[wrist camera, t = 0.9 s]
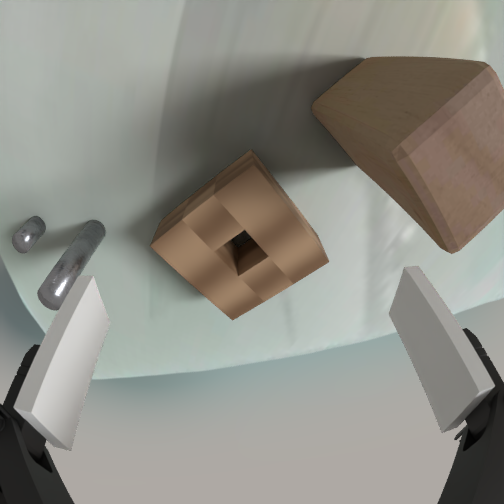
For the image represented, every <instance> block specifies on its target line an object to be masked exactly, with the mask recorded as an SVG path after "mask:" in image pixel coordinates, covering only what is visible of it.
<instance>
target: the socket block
mask: <svg viewBox="0 0 504 504" xmlns="http://www.w3.org/2000/svg"><path fill="white" fill-rule="evenodd" d="M244 230H246V232H247V233H248V234H249V235H250V236H251V237H252V239H250V240H249V241H247V242H246V243H245V244H243V245H242V246H240V247H239V248H237V247H236V246H235V245H234V243H233V242H232V241H231V239H232V238H234V237H235V236H237V235H238V234H239V233H241V232H242V231H244ZM150 247H151V248H152V249H153V250H155V251H156V252H157V253H158V254H159V255H160V256H161V257H162V258H163V259H164V260H165V261H166V262H167V263H168V264H170V265H171V266H172V267H173V268H174V269H175V270H176V271H177V272H178V273H179V274H180V275H182V276H183V277H184V278H185V279H186V280H187V281H188V282H189V283H190V284H192V285H193V286H194V287H195V288H196V289H197V290H198V291H199V292H201V293H202V294H203V295H204V296H205V297H206V298H207V299H208V300H210V301H211V302H212V303H213V304H214V305H215V306H216V307H218V308H219V309H220V310H221V311H222V312H223V313H225V314H226V315H227V316H228V317H229V318H230V319H232V320H234V319H236V318H237V317H239V316H241V315H242V314H244V313H246V312H248V311H249V310H251V309H253V308H254V307H256V306H258V305H260V304H261V303H263V302H265V301H266V300H268V299H270V298H271V297H273V296H275V295H276V294H278V293H280V292H281V291H283V290H285V289H286V288H288V287H289V286H291V285H293V284H294V283H296V282H298V281H299V280H301V279H303V278H304V277H306V276H307V275H309V274H311V273H312V272H314V271H315V270H317V269H319V268H320V267H322V266H323V265H325V264H327V263H328V262H329V260H328V258H327V255H326V253H325V251H324V248H323V246H322V244H321V242H320V239H319V237H318V235H317V234H316V232H315V231H314V230H313V228H312V227H311V226H310V224H309V223H308V222H307V220H306V219H305V218H304V216H303V215H302V214H301V212H300V211H299V210H298V208H297V207H296V206H295V204H294V203H293V202H292V200H291V199H290V198H289V196H288V195H287V194H286V193H285V191H284V190H283V189H282V187H281V186H280V185H279V184H278V182H277V181H276V180H275V178H274V177H273V176H272V175H271V173H270V172H269V171H268V170H267V168H266V167H265V166H264V165H263V163H262V162H261V161H260V160H259V158H258V157H257V156H256V155H255V153H254V152H253V151H252V150H250V151H248V152H247V153H246V154H244V155H243V156H241V157H240V158H239V159H237V160H236V161H235V162H234V163H232V164H231V165H230V166H228V167H227V168H226V169H224V170H223V171H222V172H220V173H219V174H218V175H217V176H215V177H214V178H213V179H211V180H210V181H209V182H208V183H206V184H205V185H204V186H203V187H201V188H200V189H199V190H198V191H196V192H195V193H194V194H193V195H191V196H190V197H189V198H188V199H186V200H185V201H184V202H183V203H181V204H180V205H179V206H178V207H177V208H175V209H174V210H173V211H172V212H171V213H169V214H168V215H167V216H166V217H165V218H163V219H162V220H161V222H160V224H159V226H158V228H157V231H156V233H155V235H154V238H153V240H152V242H151V245H150Z"/></svg>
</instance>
